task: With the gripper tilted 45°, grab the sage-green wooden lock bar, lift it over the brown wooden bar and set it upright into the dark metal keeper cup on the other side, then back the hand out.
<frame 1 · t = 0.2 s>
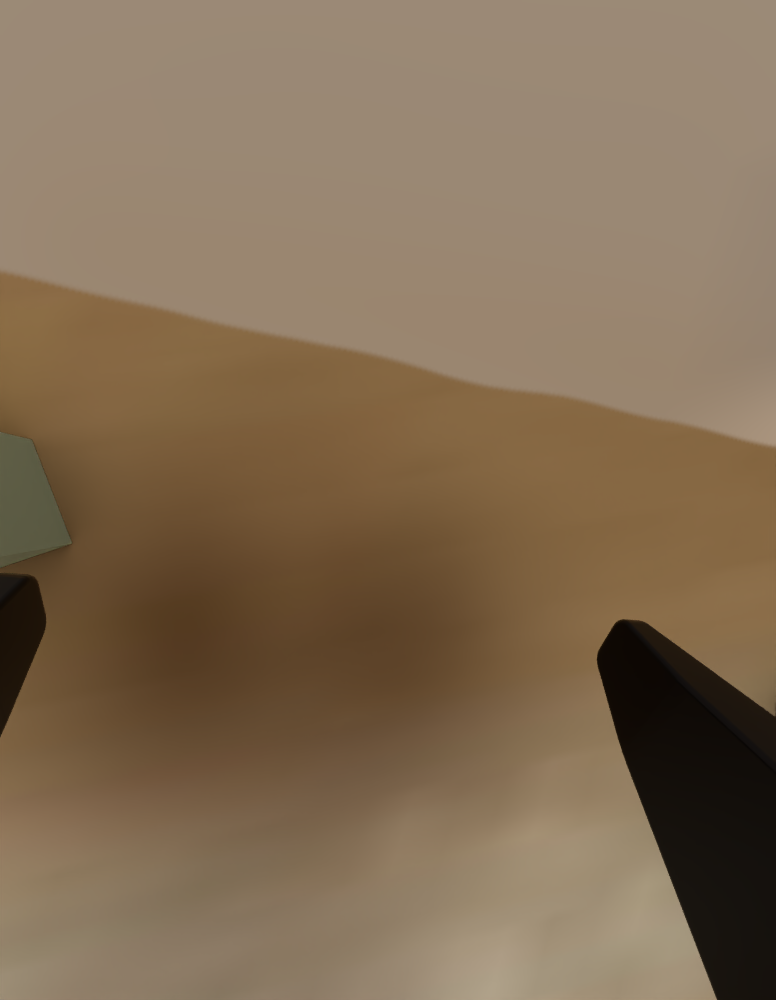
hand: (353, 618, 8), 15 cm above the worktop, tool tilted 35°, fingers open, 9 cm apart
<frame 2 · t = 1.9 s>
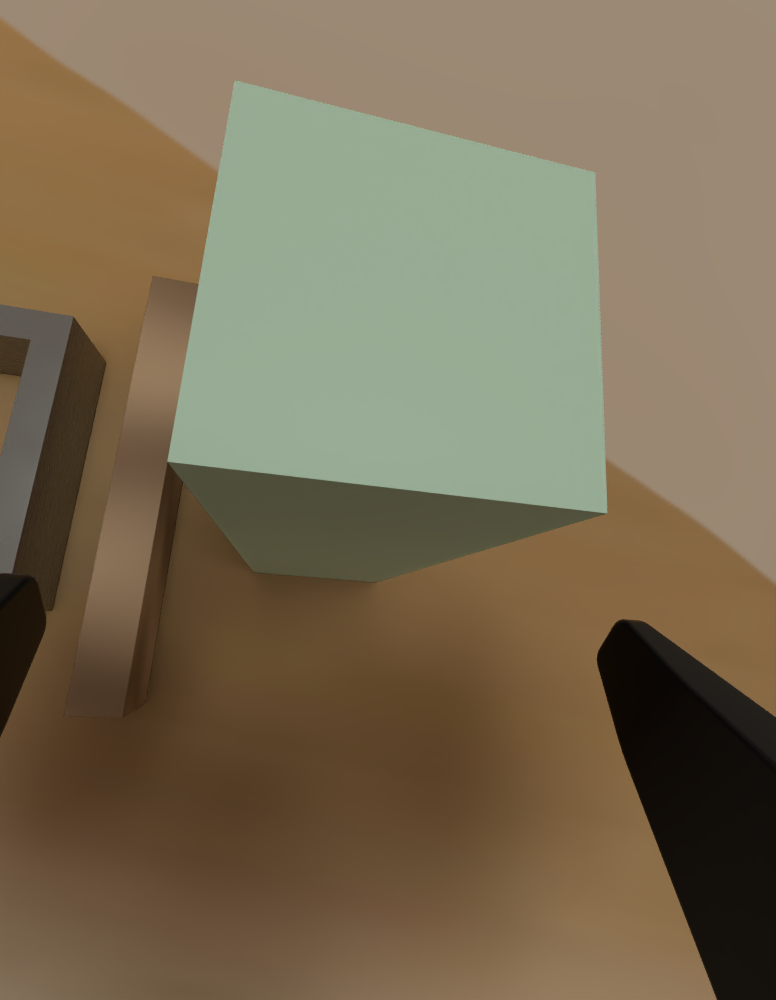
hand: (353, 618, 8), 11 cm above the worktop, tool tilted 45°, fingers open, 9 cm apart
brown wooden bar: (158, 493, 18), on the worktop
lock bar: (321, 517, 19), on the worktop
when the fingers open (9 cm above the worktop, at t = 8.2 s): lock bar drops 1 cm, resting in keeper.
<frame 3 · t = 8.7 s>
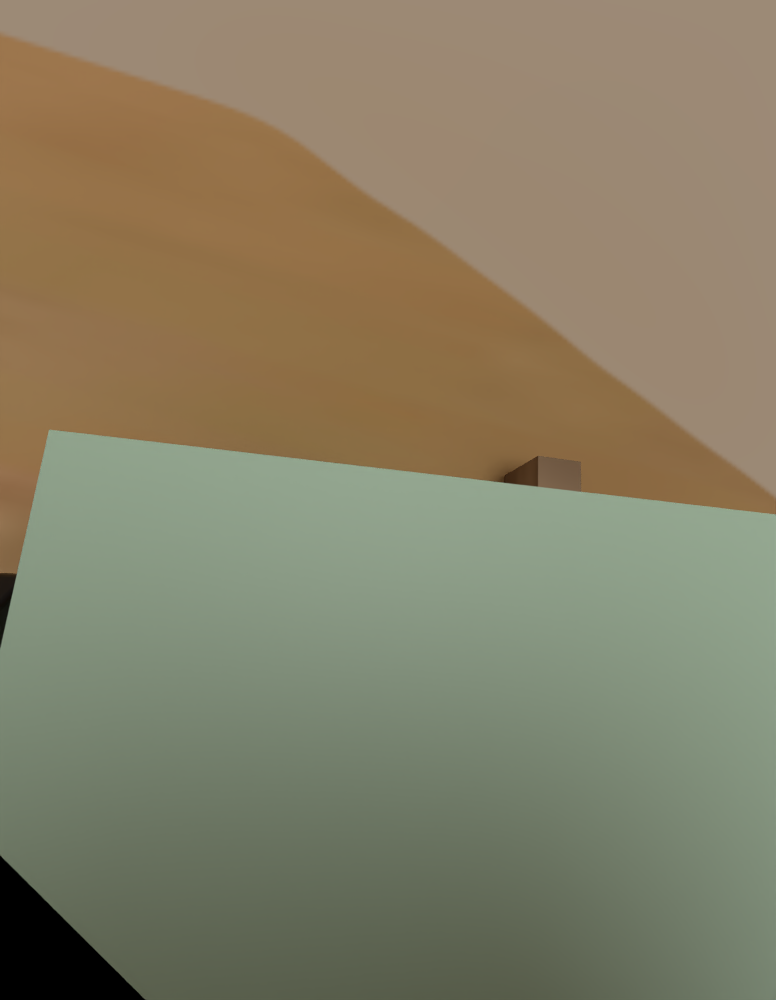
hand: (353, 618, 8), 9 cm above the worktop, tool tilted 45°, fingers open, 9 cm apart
brown wooden bar: (521, 675, 17), on the worktop
lock bar: (312, 655, 16), resting in keeper
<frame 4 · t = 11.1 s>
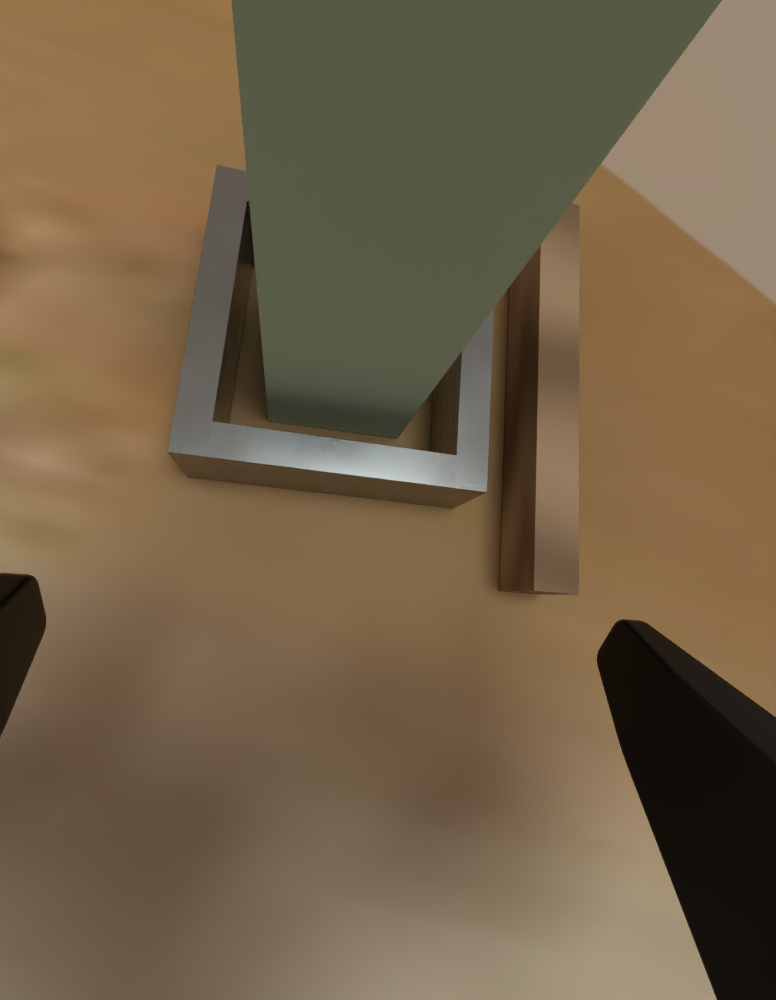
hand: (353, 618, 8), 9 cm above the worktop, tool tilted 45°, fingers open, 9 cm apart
keeper: (340, 370, 18), on the worktop
brown wooden bar: (523, 407, 19), on the worktop
lock bar: (340, 370, 18), resting in keeper
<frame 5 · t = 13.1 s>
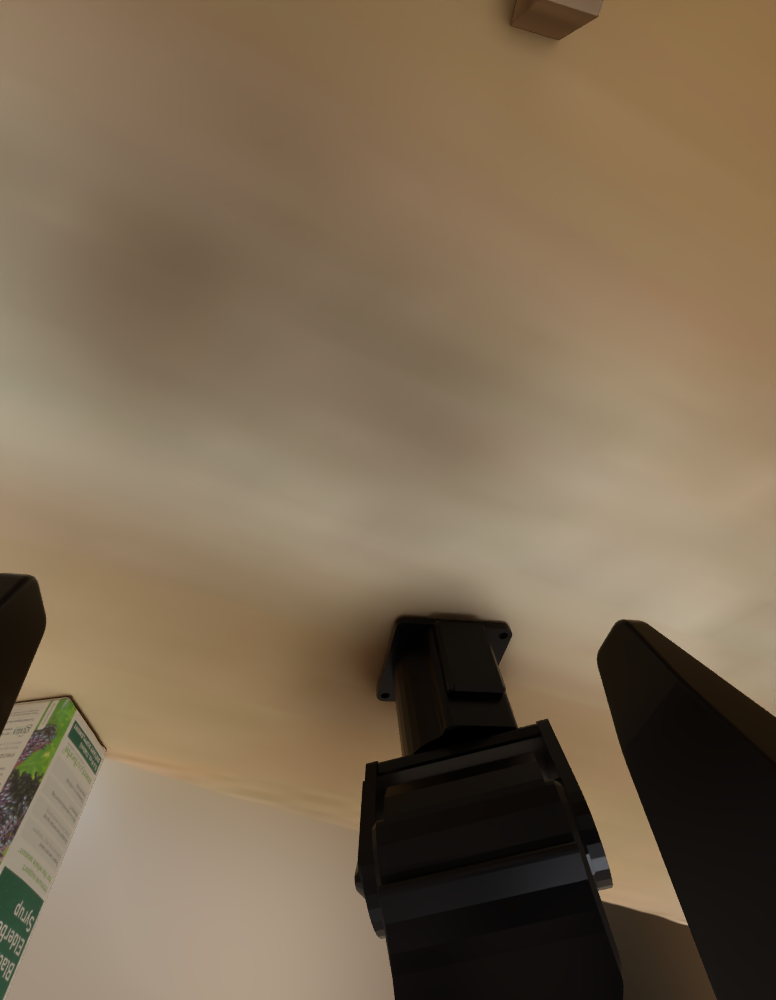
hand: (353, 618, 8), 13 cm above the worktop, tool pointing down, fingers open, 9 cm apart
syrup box: (42, 727, 29), on the worktop
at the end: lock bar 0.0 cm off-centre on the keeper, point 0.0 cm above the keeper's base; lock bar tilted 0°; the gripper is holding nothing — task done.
